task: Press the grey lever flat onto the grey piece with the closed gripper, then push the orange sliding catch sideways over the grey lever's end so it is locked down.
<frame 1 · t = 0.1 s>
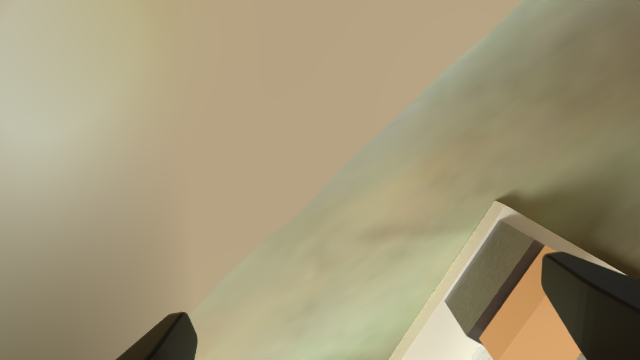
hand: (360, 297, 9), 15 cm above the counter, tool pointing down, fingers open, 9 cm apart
catch: (551, 320, 17), point 8 cm above the counter, slide at 0.0 cm
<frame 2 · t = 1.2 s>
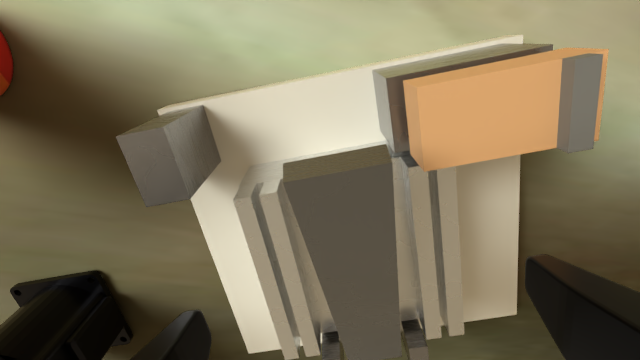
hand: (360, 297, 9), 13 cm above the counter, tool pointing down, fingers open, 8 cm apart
catch: (500, 110, 12), point 8 cm above the counter, slide at 0.0 cm
board: (349, 214, 22), on the counter
grey piece: (357, 238, 18), on the board, point 4 cm above the counter
grey lever: (361, 291, 15), point 8 cm above the counter, hinge at 22.0°
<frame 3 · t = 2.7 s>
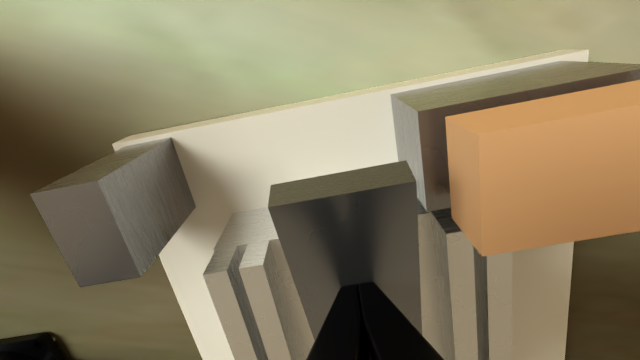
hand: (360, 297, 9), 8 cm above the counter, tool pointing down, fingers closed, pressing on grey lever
catch: (596, 165, 8), point 8 cm above the counter, slide at 0.0 cm
board: (357, 267, 18), on the counter
grey piece: (371, 311, 14), on the board, point 4 cm above the counter
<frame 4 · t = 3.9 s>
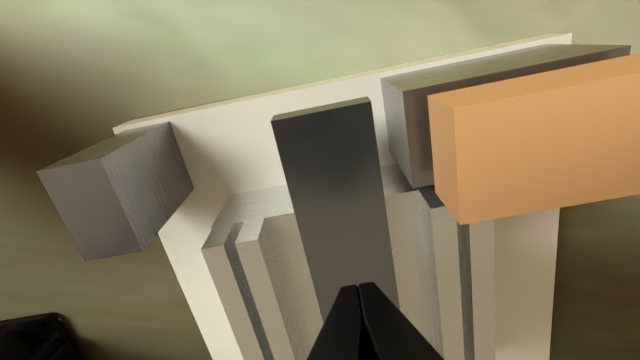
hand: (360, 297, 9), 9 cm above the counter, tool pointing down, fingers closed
catch: (567, 138, 9), point 8 cm above the counter, slide at 0.0 cm
board: (351, 248, 19), on the counter
grey piece: (362, 287, 15), on the board, point 4 cm above the counter
grey lever: (357, 297, 13), point 5 cm above the counter, hinge at 1.4°
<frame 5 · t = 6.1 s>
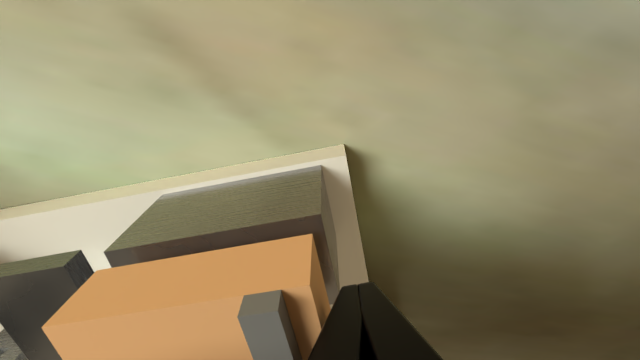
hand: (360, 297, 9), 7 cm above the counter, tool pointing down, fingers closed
catch: (204, 333, 8), point 8 cm above the counter, slide at 0.2 cm, touching gripper
board: (190, 335, 19), on the counter
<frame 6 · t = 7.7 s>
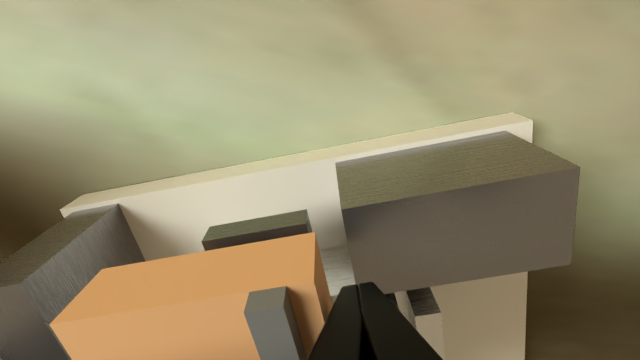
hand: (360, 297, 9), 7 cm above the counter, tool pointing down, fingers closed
catch: (209, 330, 9), point 8 cm above the counter, slide at 7.3 cm, touching gripper
board: (317, 315, 18), on the counter
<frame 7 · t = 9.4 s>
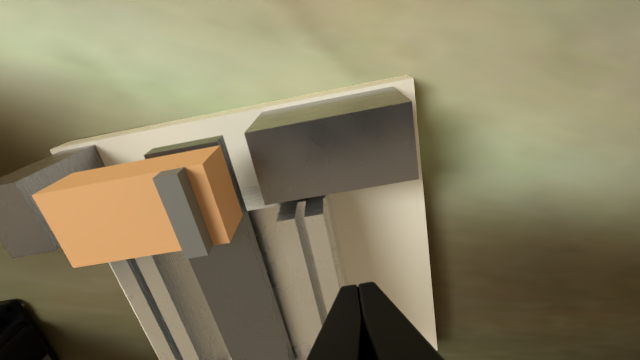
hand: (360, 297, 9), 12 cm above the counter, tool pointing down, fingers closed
catch: (143, 209, 12), point 8 cm above the counter, slide at 7.3 cm
board: (263, 249, 22), on the counter
grey piece: (252, 281, 18), on the board, point 4 cm above the counter
grey lever: (238, 289, 17), point 5 cm above the counter, hinge at 1.4°
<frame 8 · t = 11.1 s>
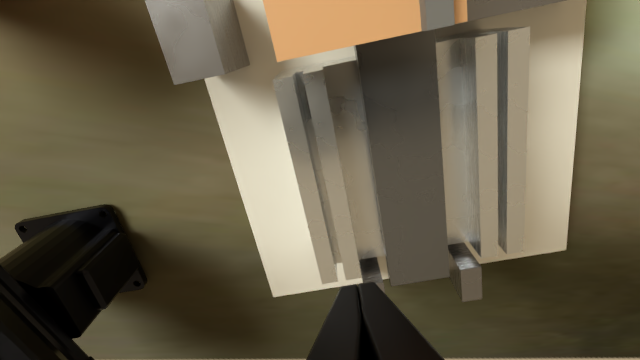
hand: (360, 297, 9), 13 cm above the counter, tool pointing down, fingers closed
board: (386, 137, 20), on the counter
grey piece: (404, 146, 16), on the board, point 4 cm above the counter
grey lever: (403, 141, 15), point 5 cm above the counter, hinge at 1.4°
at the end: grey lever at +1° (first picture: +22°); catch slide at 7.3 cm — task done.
